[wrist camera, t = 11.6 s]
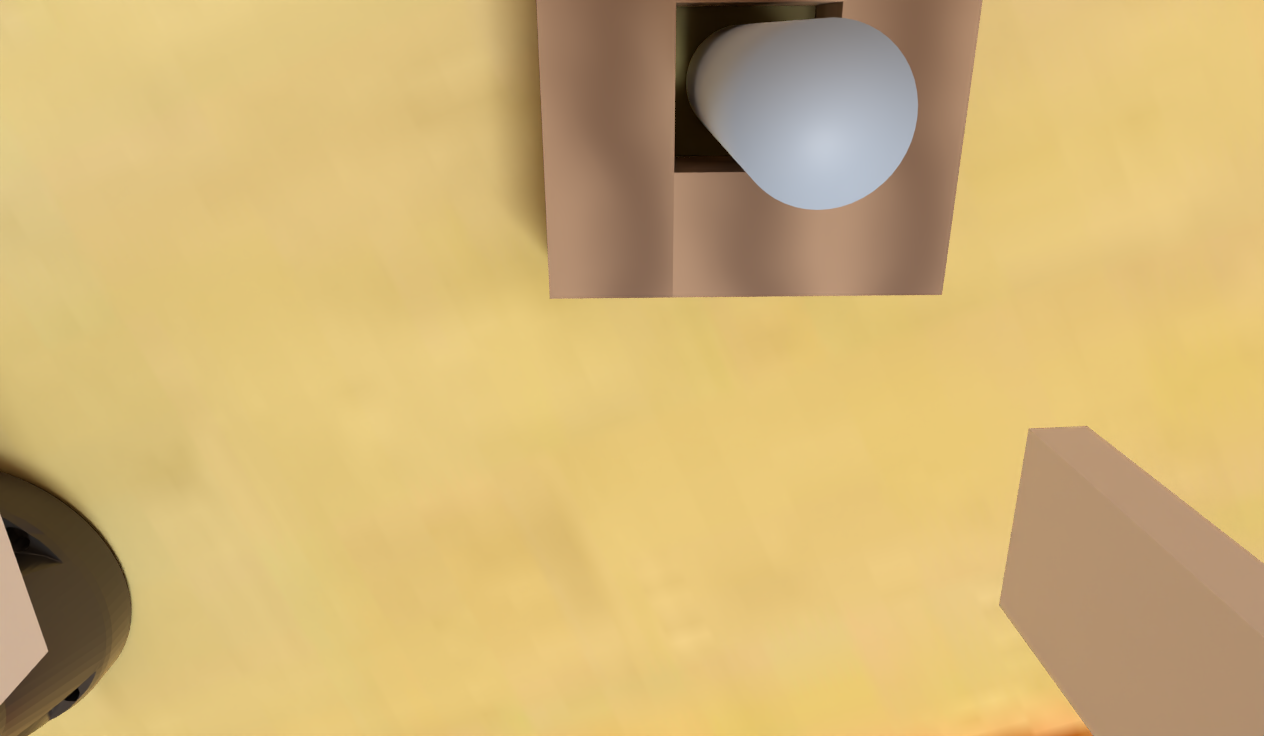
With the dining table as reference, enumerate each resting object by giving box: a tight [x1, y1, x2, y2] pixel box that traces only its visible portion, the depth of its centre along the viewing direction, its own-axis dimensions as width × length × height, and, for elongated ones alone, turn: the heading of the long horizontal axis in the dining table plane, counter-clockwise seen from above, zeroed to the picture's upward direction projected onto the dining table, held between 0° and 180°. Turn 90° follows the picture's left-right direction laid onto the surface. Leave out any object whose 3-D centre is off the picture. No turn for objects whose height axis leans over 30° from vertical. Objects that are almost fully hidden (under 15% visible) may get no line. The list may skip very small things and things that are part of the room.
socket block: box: [536, 0, 982, 299], centre depth 33 cm, size 16×16×4 cm
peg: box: [686, 17, 918, 210], centre depth 28 cm, size 4×4×16 cm
